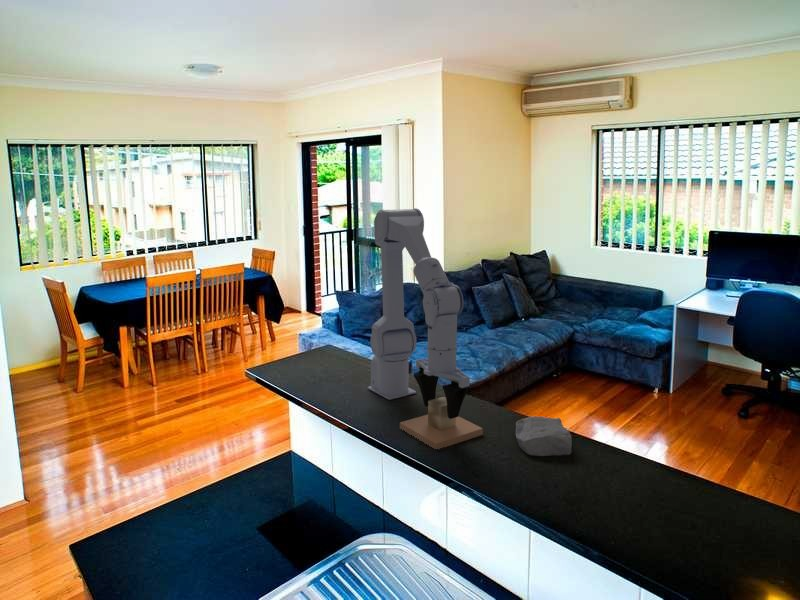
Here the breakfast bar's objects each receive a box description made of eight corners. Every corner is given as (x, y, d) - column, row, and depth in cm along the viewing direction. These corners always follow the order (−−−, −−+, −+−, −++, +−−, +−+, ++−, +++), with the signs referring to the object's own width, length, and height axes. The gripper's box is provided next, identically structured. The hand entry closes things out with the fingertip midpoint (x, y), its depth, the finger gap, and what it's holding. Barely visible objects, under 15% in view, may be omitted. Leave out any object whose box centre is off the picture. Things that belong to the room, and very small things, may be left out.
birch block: (427, 423, 123) (428, 400, 122) (443, 419, 125) (443, 396, 124) (440, 430, 120) (440, 406, 119) (455, 425, 122) (456, 402, 121)
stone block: (524, 466, 113) (577, 456, 112) (520, 442, 112) (573, 432, 111) (512, 440, 124) (560, 431, 124) (508, 418, 123) (556, 409, 123)
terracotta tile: (399, 431, 124) (399, 422, 124) (444, 418, 131) (444, 409, 131) (435, 453, 115) (436, 443, 114) (482, 437, 121) (482, 428, 121)
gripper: (404, 341, 123) (404, 404, 125) (450, 359, 111) (449, 427, 114) (431, 336, 127) (430, 397, 129) (478, 352, 115) (476, 419, 118)
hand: (441, 411), depth 122 cm, fingers open, 7 cm apart
